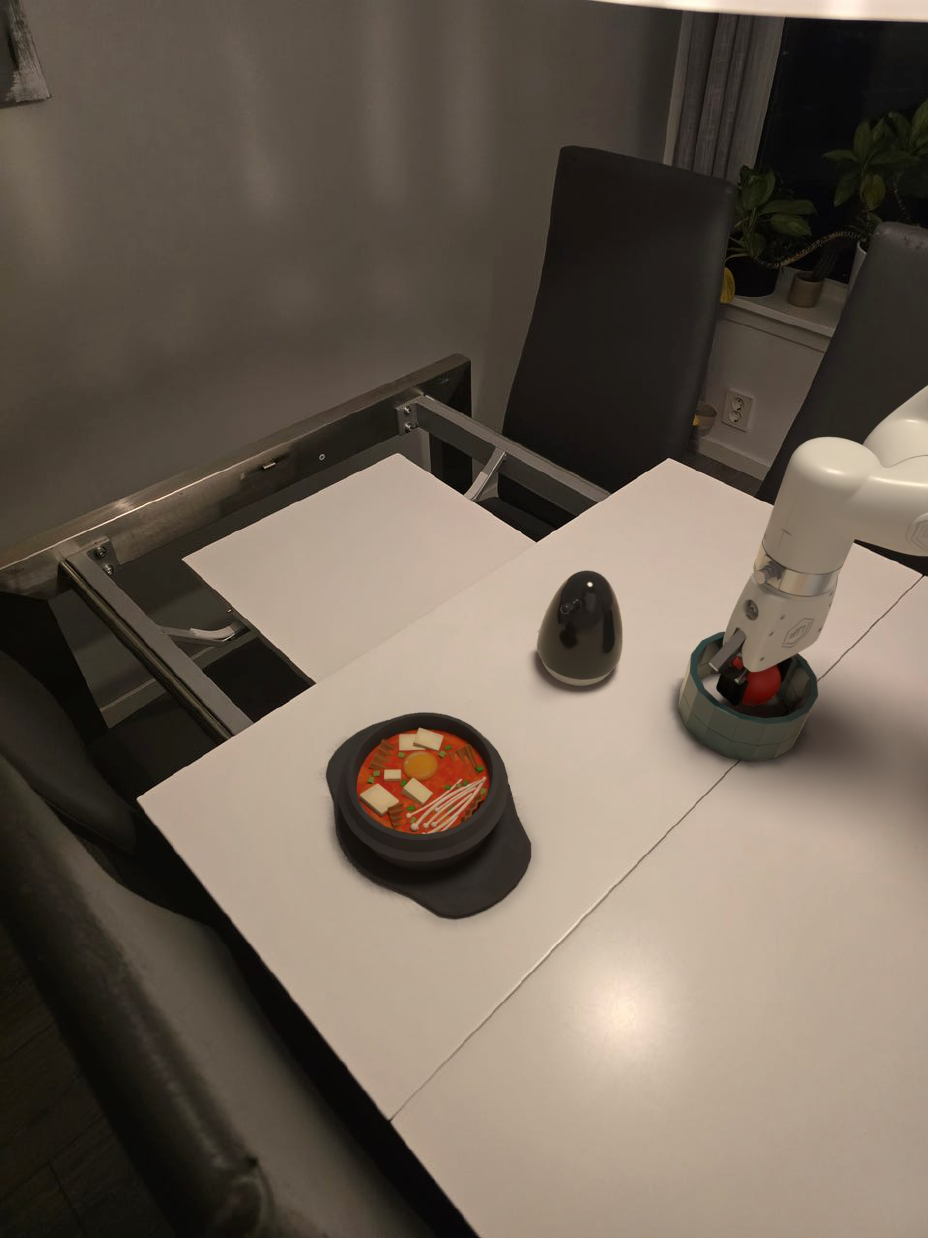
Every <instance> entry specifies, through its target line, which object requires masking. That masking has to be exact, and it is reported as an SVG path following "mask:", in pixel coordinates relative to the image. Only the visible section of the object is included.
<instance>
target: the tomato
mask: <svg viewBox="0 0 928 1238" xmlns="http://www.w3.org/2000/svg"><path fill="white" fill-rule="evenodd" d="M733 664H734V665H735V666H736V667H737V668H738V669H739V670H741V669H742V667H743V661H742V660H741V659H740V658H738V657H736V659H735V660H734V662H733ZM746 680H747V681H748V685H747V688H746V690H745V693H744V696H743V698H742V701H741V703H740V704H742V705H745V706H751V707H754V706H761V705H763V704H766V703H768V702H770V701H771V700H772V699H774V697H775V696H776V695H777V694H776V693H777V692H778V690H779V687H780V683H781V676H780V671H779V669H778V667H777V665H774V666H772V667H769V668H767V669H765V670H763V671H759V672H750V674H749V675H748V677H747V678H746Z"/></svg>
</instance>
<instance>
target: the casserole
mask: <svg viewBox="0 0 928 1238" xmlns="http://www.w3.org/2000/svg"><path fill="white" fill-rule="evenodd" d="M325 775H326V778H327V782H328V786H329V788H330V791H331V796H332V797H333V806H334V807H333V808H334V822H335V831H336V833H337V837H338V839H339V843H340V846H341V847H342V849H343V851H344V853H345V854H346V855H347V858H348V859H349V860H350V861H351V862H352V863H353V864H354V865H355V866H356V867H357V868H358V869H359V870H360V871H361V873H363V874H365V875H367V876H368V877H369V878H370V879H372V880H374V881H375V882H378V883H380V884H382V885H386V886H388V887H390V888H393V889H395V890H397V891H399V892H400V891H401V892H403V893H405V894H407V895H410V896H411V897H413V898H414V899H416V900H418V901H419V902H420V903H422V904H424V905H425V906H427V907H429V908H430V909H432V910H433V911H435V912H437V913H438V914H440V915H446V916H451V917H457V916H458V917H459V916H463V915H464V916H465V915H469V914H473V913H475V912H479V911H481V910H483V909H485V908H488V907H490V906H491V905H493V904H494V903H496V902H498V901H500V900H501V899H503V898H504V897H505V896H506V895H507V894H508V893H509V892H510V891H511V890H513V888H514V887H515V886H516V885H517V884H518V883H519V882H520V880H521V879H522V877H523V876H524V874H525V873H526V871H527V869H528V867H529V865H530V861H531V859H532V842H531V840H530V838H529V836H528V834H527V832H526V830H525V828H524V826H523V824H522V821H521V818H520V817H519V815H518V812H517V808H516V804H515V800H514V796H513V792H512V788H511V785H510V783H509V776H508V772H507V769H506V764H505V762H504V761H503V758H502V757H501V755H500V753H499V750H498V749H497V748H496V747H495V746H494V745H493V743H491V741H490V740H489V739H488V738H486V737H485V736H484V735H483V734H482V732H480V731H479V730H478V729H476V728H475V727H474V726H472V724H470V723H468V722H466V721H464V720H462V719H460V718H458V717H455V716H451V715H448V714H445V713H438V712H421V711H419V712H413V713H406V714H403V715H399V716H395V717H392V718H390V719H386V720H383V721H379V722H377V723H376V722H375V723H373V724H371V725H369V726H366V727H364V728H363V729H360V730H359V731H357V732H356V733H354V734H352V735H351V737H349V738H347V739H346V740H345V741H344V742H343V743H341V745H340V746H339V747H338V748H337V749H336V750H335V751H334V753H333V754H332V756H331V757H330V759H329V760H328V762H327V766H326V771H325Z"/></svg>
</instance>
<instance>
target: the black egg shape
mask: <svg viewBox="0 0 928 1238" xmlns="http://www.w3.org/2000/svg"><path fill="white" fill-rule="evenodd" d="M554 593H555V594H554V595H553V597H552V599H551V600H550V603H549V604H548V606H547V608H546V611H545V613H544V615H543V618H542V621H541V624H540V627H539V631H538V634H537V639H536V650H537V654H538V656H539V659H540V660H541V662H542V665H543V666H544V668H545V670H546V671H547V672H548V673H549V674H550V675H551V677H552V678H554V679H556V680H557V681H559V682H561V683H563V684H566V685H569V686H576V687H588V686H591V685H595V684H598V683H599V682H601V681H602V680H604V679H605V678H606V677H608V676H609V675H610V674H611V672H612V671H613V670H615V668H616V667H617V665H619V662H620V660H621V657H622V652H623V645H624V644H623V641H624V640H623V637H624V636H623V633H624V632H623V620H622V614H621V610H620V605H619V601H618V597H617V595H616V593H615V589H614V588H613V586H612V585H611V582H609V580H608V579H607V578H606V577H605V576H604V575H603V574H601V573H599V572H597V571H594V570H587V569H586V570H580V571H577V572H575V573H573V574H571V575H570V576H568V578H566V580H564V581H563V583H562V584H561V585H560V586H559V588H558V589H557V590H556V592H554Z"/></svg>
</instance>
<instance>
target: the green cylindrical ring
mask: <svg viewBox="0 0 928 1238" xmlns="http://www.w3.org/2000/svg"><path fill="white" fill-rule="evenodd" d="M724 635H725V631H719V632H717V633H714V634H712V635H710V636H708V637H706V638H704V639H701V641H700V642H699V643H698V644H697V646H696V647H695V648H694V649H693V651H692V652H691V654H690V656H689V659H688V663H687V666H686V670H685V672H684V676H683V680H682V683H681V686H680V689H679V694H678V704H677V711H678V713H679V715H680V717H681V720H682V722H683V725H684V727H685V729H687V731H688V732H690V734H691V735H692V736H693V737H694V738H695V739H696V740H697V741H698V742H699V743H700V744H701V745H702V746H705V747H706V748H708V749H710V750H712V751H714V752H715V753H718V754H719V755H721V756H723V757H726V758H730V759H735V760H740V761H745V762H758V761H759V762H760V761H767V760H774V759H776V758H778V757H780V756H781V755H783V754H784V753H786V752H788V751H790V750H791V749H792V748H793V746H794V744H795V742H796V741H797V739H798V737H799V736H800V734H801V731H802V730H803V728H804V725H805V724H806V722H807V719H808V718H809V715H810V714H811V712H812V709H813V707H814V706H815V704H816V701H817V700H818V697H819V689H818V688H819V687H818V677H817V675H816V674H815V672H814V670H813V669H812V667H811V666H810V664H809V662H808V660H807V659H806V658H804V657H803V656H802V655H801V654H800V653H798V654H797V655H796V656H794V657H791V658H792V659H793V661H792V663H791V666H790V668H789V670H788V672H787V675H786V677H785V679H784V681H783V682H782V683H780V687H779V690H778V692H777V693H776V695H778V696H779V697H780V698H781V699H782V701H783V702H784V704H785V706H786V707H787V709H788V712H789V714H787V715H784V716H775V717H774V716H773V717H766V718H765V717H760V716H756V715H750V714H744V713H741V712H739V711H738V710H735V709H733V708H731V707H729V706H727V705H725V704H723V703H721V702H720V701H719V700H717V699H716V697H715V696H714V695H712V694H711V693H710V692H709V691H708V689H706V688H705V686H704V684H703V682H702V679H703V680H704V679H705V678H706V677H709V676H711V675H712V676H713V675H720V674H721V673H719V672H717V671H716V670H715V669H714V668H713V667H712V666H711V665H710V664H709V662H710V661H711V659H712V658H713V657H714V656H715V655H716V654H717V653H718V652H719V651H720V650H721V648H722V647H723V639H724Z"/></svg>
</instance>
